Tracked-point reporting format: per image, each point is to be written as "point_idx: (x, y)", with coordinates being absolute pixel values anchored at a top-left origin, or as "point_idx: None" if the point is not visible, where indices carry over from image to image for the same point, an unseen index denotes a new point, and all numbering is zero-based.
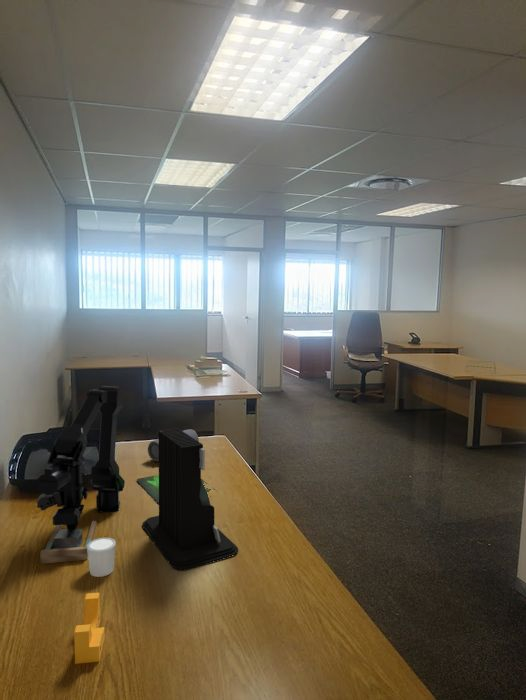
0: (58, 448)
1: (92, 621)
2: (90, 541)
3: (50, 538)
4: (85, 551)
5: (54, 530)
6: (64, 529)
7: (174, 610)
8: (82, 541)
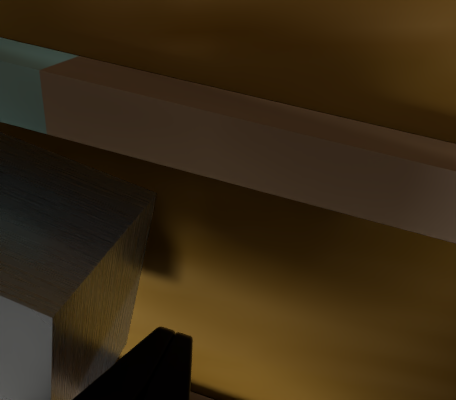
0: None
1: None
2: None
3: (152, 105)
4: None
5: (442, 181)
6: (51, 361)
7: None
8: (123, 347)
